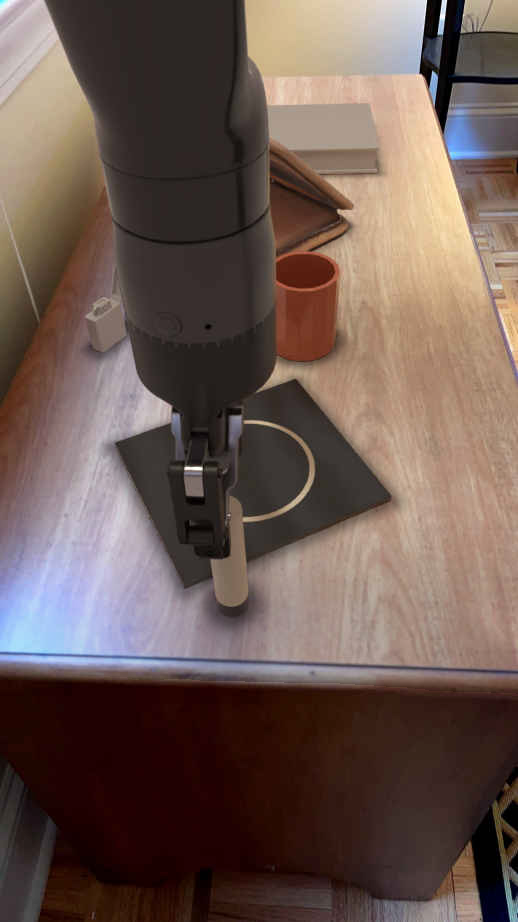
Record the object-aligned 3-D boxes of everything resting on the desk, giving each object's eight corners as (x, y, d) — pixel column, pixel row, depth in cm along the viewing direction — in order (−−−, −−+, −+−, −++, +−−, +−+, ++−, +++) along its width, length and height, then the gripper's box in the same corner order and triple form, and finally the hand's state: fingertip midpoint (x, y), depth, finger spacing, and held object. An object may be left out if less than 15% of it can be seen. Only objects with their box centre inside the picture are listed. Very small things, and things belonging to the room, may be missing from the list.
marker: (240, 583, 56) (232, 489, 47) (254, 608, 55) (248, 515, 46) (211, 596, 56) (197, 502, 47) (224, 621, 54) (212, 530, 45)
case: (360, 228, 94) (371, 103, 82) (243, 289, 85) (236, 159, 73) (260, 178, 104) (257, 62, 92) (147, 228, 95) (127, 106, 83)
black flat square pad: (296, 382, 73) (296, 377, 72) (391, 500, 62) (392, 495, 61) (115, 446, 67) (114, 441, 67) (184, 588, 56) (183, 583, 56)
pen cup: (314, 313, 81) (317, 244, 74) (347, 348, 76) (353, 278, 70) (258, 332, 79) (255, 262, 72) (288, 369, 74) (288, 298, 68)
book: (379, 147, 101) (217, 151, 102) (377, 173, 104) (219, 176, 105) (368, 99, 114) (224, 103, 115) (366, 123, 117) (225, 127, 117)
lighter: (103, 353, 77) (88, 292, 71) (92, 348, 78) (76, 287, 72) (144, 321, 81) (133, 260, 75) (133, 316, 82) (121, 256, 76)
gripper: (267, 390, 29) (271, 596, 41) (282, 217, 38) (282, 425, 50) (89, 385, 29) (145, 590, 41) (148, 216, 39) (180, 422, 51)
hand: (220, 499), depth 46 cm, fingers open, 8 cm apart
